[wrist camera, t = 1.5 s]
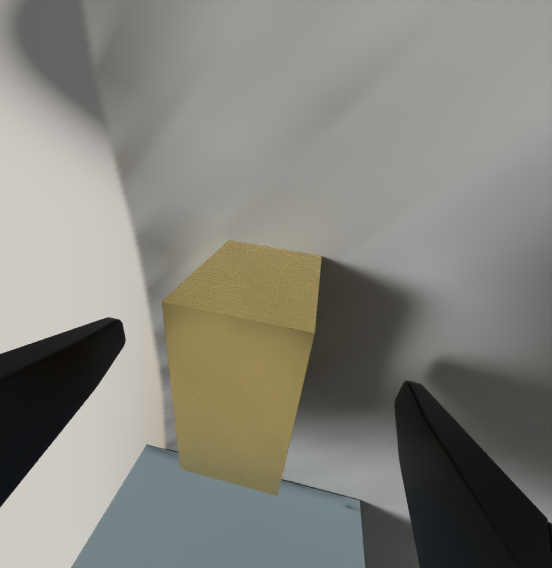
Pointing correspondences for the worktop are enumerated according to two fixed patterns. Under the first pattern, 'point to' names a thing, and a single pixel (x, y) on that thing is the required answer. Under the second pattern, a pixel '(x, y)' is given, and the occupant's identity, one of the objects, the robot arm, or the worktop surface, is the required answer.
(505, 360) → the worktop surface
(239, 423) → the tall tan wooden block
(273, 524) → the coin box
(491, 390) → the worktop surface
